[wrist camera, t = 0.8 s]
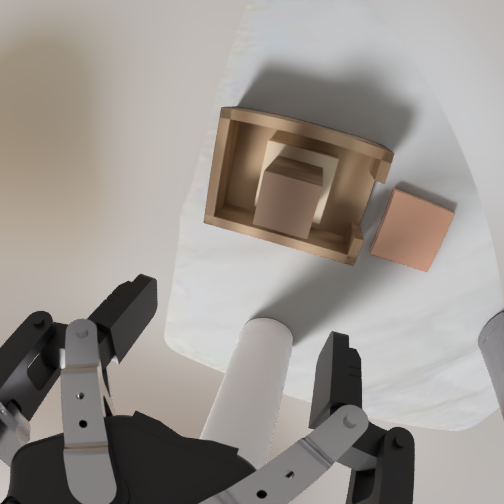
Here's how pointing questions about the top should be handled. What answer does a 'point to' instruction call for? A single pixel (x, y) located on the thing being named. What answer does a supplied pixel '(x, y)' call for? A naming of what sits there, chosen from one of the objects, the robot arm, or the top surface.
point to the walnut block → (289, 196)
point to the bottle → (252, 391)
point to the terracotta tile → (411, 230)
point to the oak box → (301, 149)
